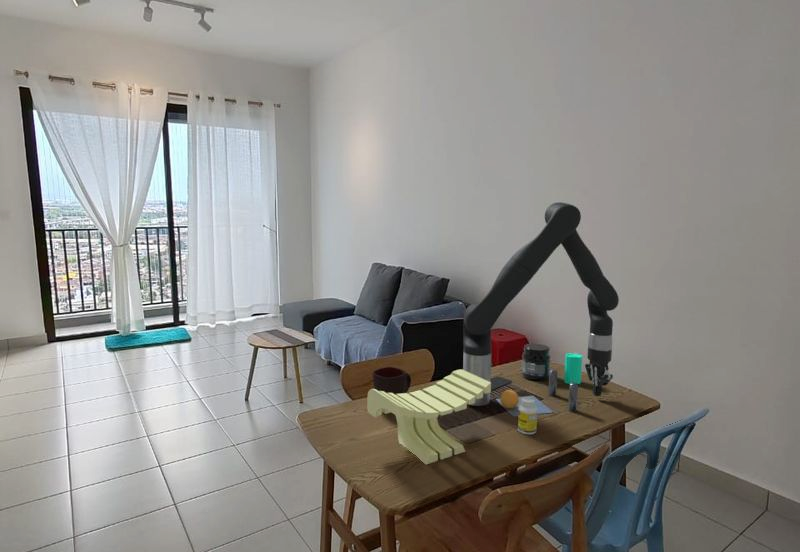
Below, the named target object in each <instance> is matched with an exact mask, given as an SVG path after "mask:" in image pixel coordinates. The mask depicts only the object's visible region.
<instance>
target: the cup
mask: <svg viewBox="0 0 800 552" xmlns="http://www.w3.org/2000/svg"><path fill="white" fill-rule="evenodd" d="M372 383H373V389H376V390H378V391H384V392H385V393H393V394H395V395H396V394H402V393H407V394H408V391H409V389H410V387H411V383H412V378H411V375H410V374H409V373H408V372H406V370H403V369H402V368H398V367H394V366H386V367H382V368H377V369H375V370H374V371H372Z"/></svg>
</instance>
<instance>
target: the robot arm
mask: <svg viewBox="0 0 800 552" xmlns="http://www.w3.org/2000/svg"><path fill="white" fill-rule="evenodd" d="M581 219H582V215H581V211H580V210H579V208H578V207H576V205H573V204H570V203H567V202H553V203H552V204H550V205H549V206H547V208H546V210H545V211H544V221H545V224H546V225H545V226H544V227H543V228H542V229H541V231H540V232H539V233H538V235H536V236H535V237H534V238H532V240H530V241H529V242H528V243H527V244H525V245H523V246H522V247H521V248H519V249H518V250H517V251H516V252H515V253H514V254H513V255H512V256H511V257H510V258H509V260H508V261H507V262H506V263H505V265H504V266H503V267H502V268H501V270H500V271H499V273H498V275H497V277H496V279H495V281H494V283H493V284H492V286H491V288H490V290H489V291H488V293H487V294H486V295H485V296H484V297H483V299H481V300H480V301H479V302H478V303H477V302H476V303H472V304H470V305H469V306H467V308H466V309H465V310H464V314H463V326H462V327H463V330H462V331H463V332H462V333H463V335H462V336H463V338H462V341H463V343H462V344H463V355H462V356H463V358H462V359H463V360H462V362H463V363H462V365H463V366H462V370H464V371H466V372H469V373H471V374H473V375H475V376H478V377H480V378H482V379H484V380H487V381H489V382H490V380H491V378H492V377H491V375H492V370H491V369H492V328H493V327H494V325H495V323H496V322H497V320H498V319H499V318H500V316H501V315H502V313H504V310H505V309H506V308H507V306H509V304H510V303H511V302H512V301H513V300H514V299H515V298H516V297H517V295H518V294H519V293H520V292H521V291H522V290H524V288H525V287H526V285H527V284H528V283H529V282H531V280H532V279H533V277H534V276H535V275H536V273H537V272H538V271H539V270H540V269H541V267H542V266H543V265H544V264H545V263H546V262H547V260H548V259H549V258H550V256H551V255H552V254H553V253H554V252H555V251H556V250H557V248H558V247H559V246H560V245H561V246H562V248H563V249H564V251H565V253H566V254H567V256H568V258H569V259H570V262H571V264H572V266H573V267H574V270H575V272H576V273H577V275H578V277H579V279H580V281H581V283H582V284H583V286H585V287H586V288H588V289H589V290H590V291H589V292H588V295H587V299H586V302H587V310H588V315H589V319H590V322H589V334H588V339H587V340H588V342H587V359H588V360H589V363H585V364H584V367H585V370H586V372H587V377H588V379H589V381H591V384H592V395H594V396H595V397H601V395H602V390H603V389H602V388H603V387H606V386H607V385H608V384H609V383H610V382H611V380H612V379H613V377H614V376H613V374H612V373H611V374H610V371H609V369H610V367H609V363H610V362H612V355H613V325H614V321H613V318H612V317H611V316H610V315H609V313H608V312H609V311H613V310H615V309H616V308H617V307H618V305H619V301H620V300H619V294H618V293H617V291H616V289H615V288H614V286H613V285H612V284H611V283H610V281H609V280H608V279H607V278H606V276H605V275H604V273H603V271H602V269H601V267H600V265H599V262H598V260H597V259H596V258H595V256H594V255H593V253H592V252H591V250H590V249H589V248H588V247H587V245H586V244H585V242H584V241H583V239H582V238H581V236H580V234H579V233H578V231H577V228H578V227H579V225H580V223H581ZM490 400H491V392H490V393H486V394H485V393H483V398H480V399H477V398H475V403H473V404H468V403H467V406H472V407H473V406H474V407H475V406H476V407H482V406H486V405H489V404H490V403H491V401H490Z"/></svg>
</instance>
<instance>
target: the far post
mask: <svg viewBox="0 0 800 552" xmlns="http://www.w3.org/2000/svg"><path fill="white" fill-rule="evenodd" d="M557 383H558V370H557V369H554V368H553V369H551V368H550V373H549V378H548V397H553V398H554V397H555V398H556V397H557V389H558V388H557V387H558V385H557Z"/></svg>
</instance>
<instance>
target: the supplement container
mask: <svg viewBox="0 0 800 552" xmlns="http://www.w3.org/2000/svg"><path fill="white" fill-rule="evenodd" d="M550 350H551V349H550V346H548V345H546V344H541V343H527V344H524V347H523V351H524V352H523V353H522V355H521V356H522V366H521V367H522V368H521V375H522V376H523V377H524V378H525V379H527V380H529V381H530V380H531V381H537V382H540V381H541V382H542V381H546V380H549V373H550V370H551V358H552V357H551V354H550Z"/></svg>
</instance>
